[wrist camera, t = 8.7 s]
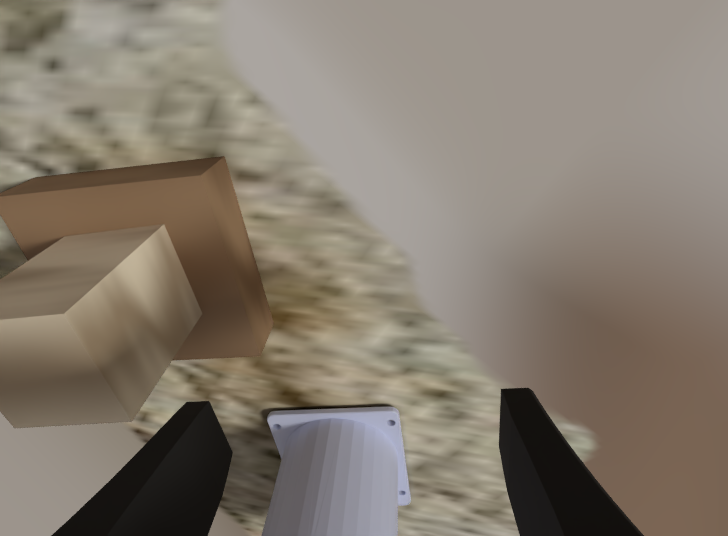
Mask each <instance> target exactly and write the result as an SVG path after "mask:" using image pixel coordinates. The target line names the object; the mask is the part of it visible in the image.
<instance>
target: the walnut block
mask: <svg viewBox="0 0 728 536" xmlns="http://www.w3.org/2000/svg"><path fill="white" fill-rule="evenodd" d="M0 215H1V216H2V218H3V220H4V221H5V223H6V225H7V226H8V228H9V230H10V231H11V233H12V235H13V236H14V238H15V240H16V241H17V243H18V245H19V246H20V248H21V250H22V251H23V253H24V255H25V256H26V258H27V260H28V261H29V260H30V259H32V258H33V257H35V256H36V255H38V254H39V253H41V252H42V251H44V250H45V249H47V248H48V247H50V246H51V245H53V244H54V243H56V242H57V241H59V240H60V239H62V238H63V237H65V236H73V235H81V234H89V233H97V232H105V231H113V230H121V229H129V228H137V227H145V226H153V225H161V224H164V225H165V228H166V230H167V232H168V235H169V237H170V239H171V242H172V244H173V246H174V249H175V251H176V253H177V256H178V258H179V260H180V263H181V265H182V267H183V270H184V272H185V274H186V277H187V279H188V281H189V284H190V286H191V288H192V291H193V293H194V295H195V298H196V300H197V302H198V304H199V307H200V309H201V311H202V315H201V317H200V318H199V320H198V321H197V323H196V324H195V326H194V327H193V329H192V330H191V332H190V334H189V335H188V337H187V338H186V340H185V341H184V343H183V344H182V346H181V347H180V349H179V350H178V352H177V353H176V355H175V357H174V358H173V360H190V359H211V358H232V357H253V356H261V353H262V351H263V349H264V346H265V344H266V341H267V339H268V336H269V334H270V331H271V329H272V326H273V324H274V322H273V319H272V316H271V312H270V309H269V305H268V302H267V299H266V295H265V292H264V289H263V285H262V282H261V278H260V275H259V272H258V268H257V265H256V261H255V258H254V255H253V251H252V248H251V245H250V241H249V238H248V234H247V231H246V228H245V224H244V221H243V218H242V214H241V211H240V207H239V204H238V201H237V197H236V194H235V190H234V187H233V184H232V180H231V177H230V174H229V170H228V167H227V163H226V160H225V157H224V156H223V157H214V158H205V159H196V160H187V161H178V162H169V163H160V164H151V165H142V166H133V167H124V168H115V169H106V170H97V171H88V172H79V173H70V174H61V175H52V176H43V177H35V178H33V179H31V180H28V181H26V182H24V183H22V184H20V185H17V186H15V187H13V188H11V189H8V190H6V191H4V192H2V193H0Z"/></svg>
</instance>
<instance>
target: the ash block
mask: <svg viewBox="0 0 728 536" xmlns="http://www.w3.org/2000/svg"><path fill="white" fill-rule="evenodd" d="M201 315H202V311H201V309H200V307H199V304H198V302H197V300H196V298H195V295H194V293H193V291H192V288H191V286H190V284H189V281H188V279H187V277H186V274H185V272H184V270H183V267H182V265H181V263H180V260H179V258H178V256H177V253H176V251H175V249H174V246H173V244H172V242H171V239H170V237H169V235H168V232H167V230H166V228H165V225H164V224H161V225H153V226H145V227H137V228H129V229H121V230H113V231H105V232H97V233H89V234H81V235H73V236H65V237H63V238H62V239H60V240H59V241H57V242H56V243H54V244H53V245H51V246H50V247H48V248H47V249H45V250H44V251H42V252H41V253H39V254H38V255H36V256H35V257H33V258H32V259H30V260H29V261H27V262H26V263H24V264H23V265H21V266H20V267H18V268H17V269H15V270H14V271H12V272H11V273H9V274H8V275H6V276H5V277H3V278H2V279H0V412H1V413H2V414H3V415H4V416H5V418H6V419H7V420H8V421H9V422H10V423H11V425H12V426H13V427H14V428H26V427H27V428H28V427H44V426H63V425H81V424H97V423H116V422H132V421H133V419H134V418H135V416H136V415H137V413H138V412H139V410H140V409H141V407H142V406H143V404H144V402H145V401H146V399H147V398H148V396H149V395H150V393H151V392H152V390H153V389H154V387H155V386H156V384H157V383H158V381H159V379H160V378H161V376H162V375H163V373H164V372H165V370H166V369H167V367H168V366H169V364H170V363H171V361H172V360H173V358H174V357H175V355H176V353H177V352H178V350H179V349H180V347H181V346H182V344H183V343H184V341H185V340H186V338H187V337H188V335H189V334H190V332H191V330H192V329H193V327H194V326H195V324H196V323H197V321H198V320H199V318H200V317H201Z"/></svg>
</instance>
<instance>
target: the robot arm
mask: <svg viewBox="0 0 728 536" xmlns="http://www.w3.org/2000/svg"><path fill="white" fill-rule="evenodd" d="M267 422H268V424H269V427H270V430H271V432H272V435H273V438H274V440H275V443H276V446H277V449H278V451H279V454H280V457H281V459H282V460H281V464H280V468H279V471H278V475H277V479H276V483H275V487H274V490H273V494H272V498H271V502H270V506H269V509H268V513H267V517H266V521H265V525H264V528H263V532H262V536H398V505H408V504H409V503H410V502H411V496H410V489H409V481H408V474H407V467H406V460H405V453H404V445H403V438H402V431H401V424H400V416H399V411H398V410H397V409H396V408H394V407H363V408H337V409H311V410H284V411H272V412H270V413H269V414H268V417H267ZM499 449H500V454H501V460H502V465H503V471H504V476H505V482H506V487H507V492H508V495H509V499H510V502H511V506H512V509H513V513H514V516H515V520H516V523H517V527H518V530H519V534H520V536H644V535H643V534H642V533H641V532H640V531H639V530H638V528H637V527H636V526H635V525H634V524H633V523H632V522H631V521H630V519H629V518H628V517H627V516H626V515H625V514H624V512H623V511H622V510H621V509H620V508H619V507H618V505H617V504H616V503H615V502H614V501H613V500H612V498H611V497H610V496H609V495H608V494H607V492H606V491H605V490H604V489H603V487H601V485H600V484H599V483H598V481H597V480H596V479H595V478H594V476H593V475H592V474H591V472H590V471H589V470H588V469H587V467H586V466H585V465H584V463H583V462H582V461H581V460H580V458H579V457H578V456H577V455H576V453H575V452H574V451H573V449H572V448H571V447H570V445H569V444H568V442H567V441H566V440H565V438H564V437H563V436H562V434H561V433H560V431H559V430H558V429H557V427H556V426H555V424H554V423H553V421H552V420H551V419H550V417H549V416H548V414H547V413H546V411H545V410H544V408H543V406H542V405H541V403H540V402H539V400H538V399H537V397H536V395H535V394H534V392H533V391H532V390H531V389H529V388H513V389H501V406H500V433H499ZM232 453H233V452H232V450H231V448H230V446H229V443H228V441H227V439H226V437H225V435H224V433H223V430H222V428H221V426H220V424H219V422H218V419H217V417H216V415H215V413H214V411H213V409H212V406H211V404H210V402H209V401H201V402H186V403H185V404H184V405H183V406H182V407H181V408H180V409H179V410H178V411H177V412H176V413H175V414H174V415H173V416H172V417H171V418H170V419H169V421H168V422H167V423H166V424H165V425H164V426H163V427H162V428H161V429H160V430H159V431H158V432H157V433H156V434H155V435H154V436H153V437H152V438H151V439H150V440H149V441H148V442H147V443H146V444H145V445H144V447H143V448H142V449H141V450H140V451H139V452H138V453H137V454H136V455H135V456H134V457H133V458H132V459H131V460H130V461H129V462H128V463H127V464H126V465H125V466H124V467H123V468H122V469H121V470H120V471H119V472H118V473H117V474H116V475H115V476H114V477H113V478H112V479H111V480H110V481H109V482H108V483H107V484H106V485H105V486H104V487H103V488H102V489H101V490H100V491H99V492H98V493H96V495H94V496H93V497H92V498H91V499H90V500H89V501H88V502H87V503H86V504H85V505H84V506H83V507H82V508H81V509H80V510H79V511H78V512H77V513H76V514H75V515H74V516H72V517H71V518H70V519H69V520H68V521H67V522H66V523H65V524H64V525H63V526H62V527H60V528H59V529H58V530H57V531H56V532H55V533H54V534H53V535H52V536H208V533H209V530H210V528H211V525H212V522H213V520H214V517H215V514H216V511H217V509H218V506H219V503H220V500H221V497H222V495H223V491H224V487H225V483H226V479H227V475H228V471H229V467H230V462H231V458H232Z"/></svg>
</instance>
